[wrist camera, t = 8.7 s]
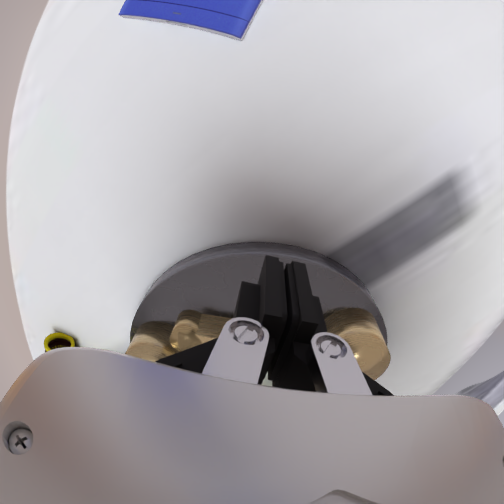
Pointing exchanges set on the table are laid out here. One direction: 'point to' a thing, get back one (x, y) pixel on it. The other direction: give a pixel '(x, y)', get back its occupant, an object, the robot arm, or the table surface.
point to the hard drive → (197, 14)
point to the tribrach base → (235, 291)
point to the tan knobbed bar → (339, 323)
